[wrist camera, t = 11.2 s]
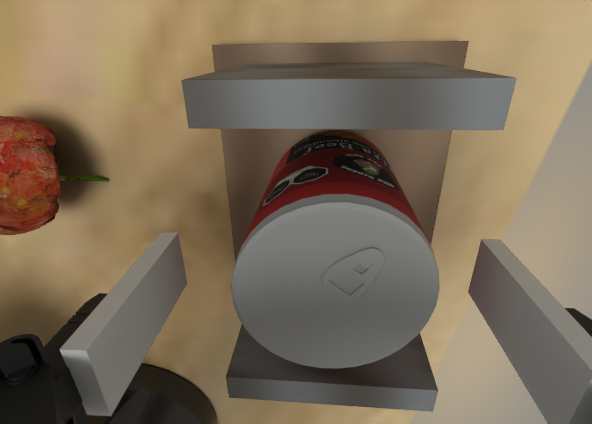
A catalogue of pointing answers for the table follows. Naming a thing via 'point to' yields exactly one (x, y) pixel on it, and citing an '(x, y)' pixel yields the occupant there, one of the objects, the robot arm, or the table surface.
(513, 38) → the table surface
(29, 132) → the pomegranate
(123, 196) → the table surface
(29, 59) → the table surface
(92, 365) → the robot arm
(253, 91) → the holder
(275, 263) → the canned food
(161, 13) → the table surface
